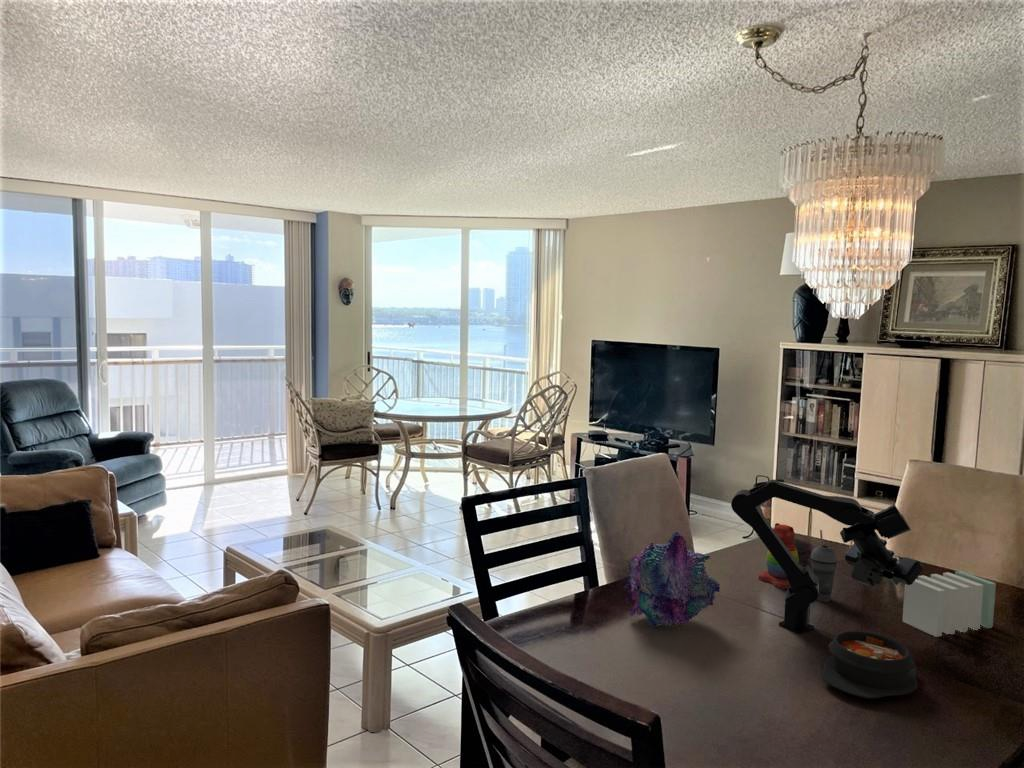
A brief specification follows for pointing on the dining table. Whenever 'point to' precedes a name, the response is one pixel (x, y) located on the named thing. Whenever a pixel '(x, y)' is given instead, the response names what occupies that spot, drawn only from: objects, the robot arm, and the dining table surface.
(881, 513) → the robot arm
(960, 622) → the domino
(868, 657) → the casserole
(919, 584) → the domino
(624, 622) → the dining table surface
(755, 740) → the dining table surface
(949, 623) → the domino
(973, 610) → the domino
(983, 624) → the domino
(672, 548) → the coral
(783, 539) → the stacking bear
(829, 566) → the beverage cup
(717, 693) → the dining table surface
